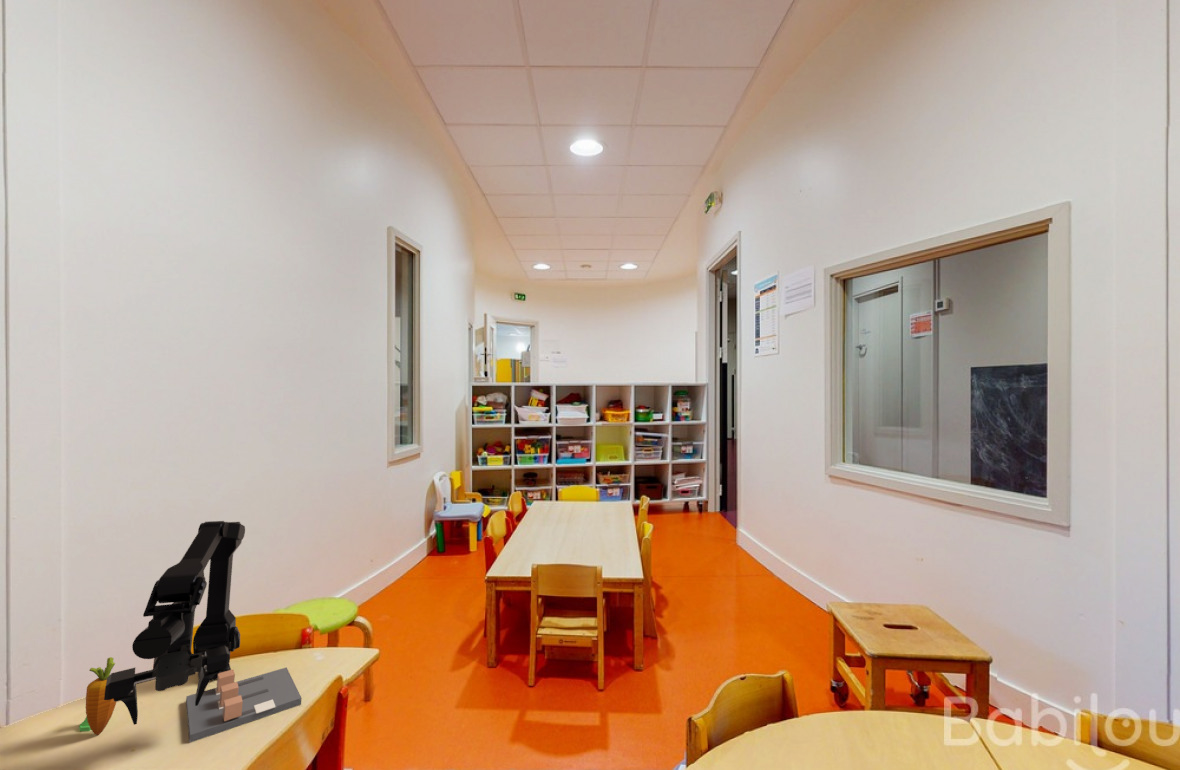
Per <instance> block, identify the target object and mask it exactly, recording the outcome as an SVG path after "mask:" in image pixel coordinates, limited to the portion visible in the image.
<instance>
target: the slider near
mask: <svg viewBox="0 0 1180 770" xmlns="http://www.w3.org/2000/svg"><path fill="white" fill-rule="evenodd" d="M242 704H243V701H242V697H241V695H240V696H237V697H233V698H230V699H227V700H224V706H223V719H224V721H227V720H230V719H233V718H236V717H239V716H241V715H242Z"/></svg>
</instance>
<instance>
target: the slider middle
mask: <svg viewBox="0 0 1180 770" xmlns="http://www.w3.org/2000/svg"><path fill="white" fill-rule="evenodd" d="M238 689H239V687H238V683H237V681H234V683H230V684H227V685H224V686H221V691H220V704H221V706H222V705H224V700H227V699H230V698H233V697H237V696H238Z"/></svg>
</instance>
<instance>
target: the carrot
mask: <svg viewBox="0 0 1180 770" xmlns="http://www.w3.org/2000/svg"><path fill="white" fill-rule="evenodd" d="M115 664H116V663H115V662H114V657H111V656H110V657H108V658H107V660H106V667H104V668H102V667H100V666H98V667H97V668H95V667H90V668H89V672H93V673H94V674H95V675H96V676H97V678H96V679H94V680H92V681H90V683H88V685H87V687H86V694H85V713H86V716H87V721H88V724H89V726H90V728H91V731H92V733H93V734H94V735H95V736H99V735H100V734H101V733H103V731H104V729H105V728H106V727H107V725H108V724H109V722H110V720H111V718H112V715H113V713H114V711H115V707H116V705H117V702H115V701H114V699H111V700H104V696H105V687H106V682H107V677H108V676H109V675H110V674H111V671H112V670H113V668H114V666H115Z"/></svg>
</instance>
